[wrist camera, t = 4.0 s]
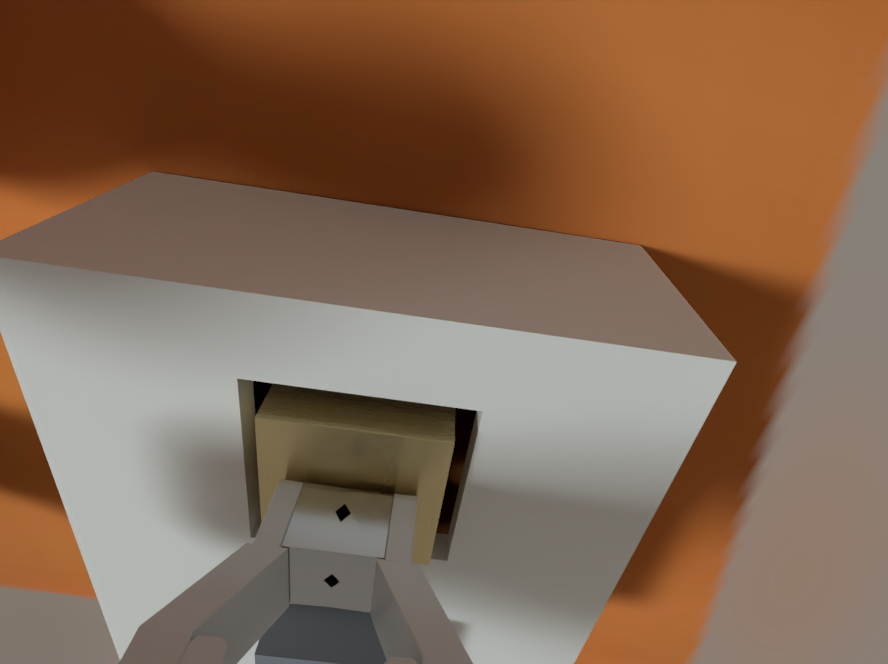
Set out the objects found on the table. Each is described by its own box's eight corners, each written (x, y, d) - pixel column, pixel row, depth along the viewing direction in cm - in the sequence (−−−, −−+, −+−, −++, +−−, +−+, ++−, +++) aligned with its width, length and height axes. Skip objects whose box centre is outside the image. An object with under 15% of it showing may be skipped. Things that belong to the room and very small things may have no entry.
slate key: (303, 508, 17) (254, 654, 13) (423, 523, 17) (411, 671, 13) (303, 581, 19) (261, 725, 15) (410, 593, 19) (397, 739, 15)
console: (151, 171, 14) (-28, 253, 9) (640, 245, 15) (736, 361, 10) (207, 537, 22) (130, 691, 17) (519, 574, 23) (536, 733, 18)
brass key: (312, 309, 14) (254, 417, 10) (456, 329, 14) (454, 443, 10) (311, 420, 16) (262, 545, 12) (437, 436, 16) (429, 564, 12)
